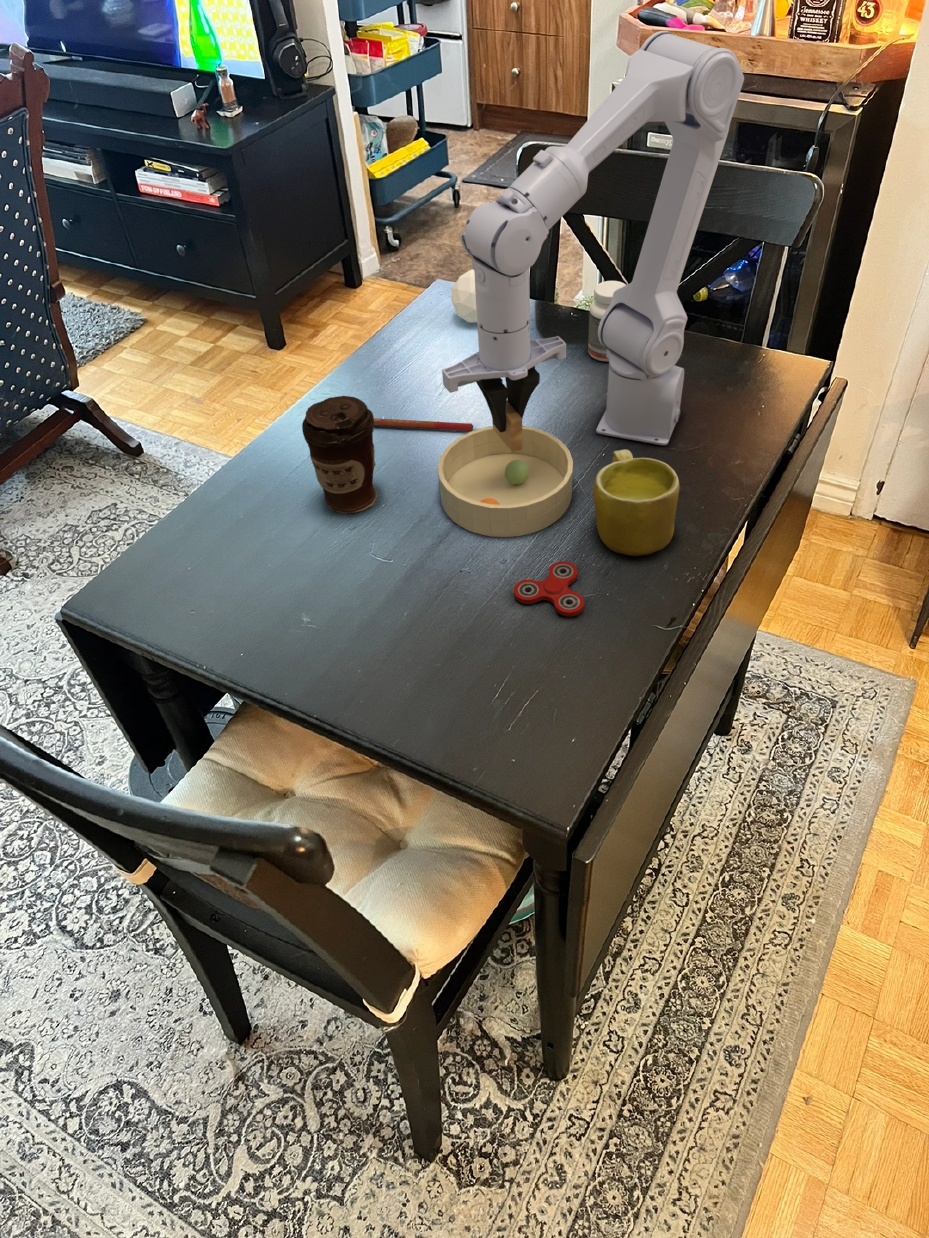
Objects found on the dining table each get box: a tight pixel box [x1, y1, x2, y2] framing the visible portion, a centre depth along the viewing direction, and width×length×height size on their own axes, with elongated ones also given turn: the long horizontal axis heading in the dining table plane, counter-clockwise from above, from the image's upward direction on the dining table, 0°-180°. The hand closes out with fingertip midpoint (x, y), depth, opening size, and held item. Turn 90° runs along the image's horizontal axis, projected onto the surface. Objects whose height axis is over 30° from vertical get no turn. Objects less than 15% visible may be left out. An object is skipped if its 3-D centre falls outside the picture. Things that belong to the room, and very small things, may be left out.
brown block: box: [492, 401, 523, 453], centre depth 108 cm, size 1×6×4 cm, turn 24°
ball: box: [451, 269, 477, 324], centre depth 140 cm, size 8×8×8 cm
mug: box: [593, 448, 680, 557], centre depth 104 cm, size 12×10×10 cm
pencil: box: [373, 417, 474, 432], centre depth 123 cm, size 19×1×1 cm, turn 80°
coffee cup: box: [301, 395, 378, 514], centre depth 109 cm, size 9×8×13 cm
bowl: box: [437, 425, 574, 538], centre depth 111 cm, size 16×16×4 cm
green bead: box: [505, 460, 529, 485], centre depth 112 cm, size 3×3×3 cm
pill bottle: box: [587, 280, 627, 363], centre depth 130 cm, size 6×6×10 cm
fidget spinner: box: [513, 560, 585, 617], centre depth 100 cm, size 8×7×1 cm
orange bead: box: [480, 498, 500, 505], centre depth 108 cm, size 3×3×3 cm
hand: (507, 425), depth 108 cm, fingers closed on brown block, 1 cm apart
